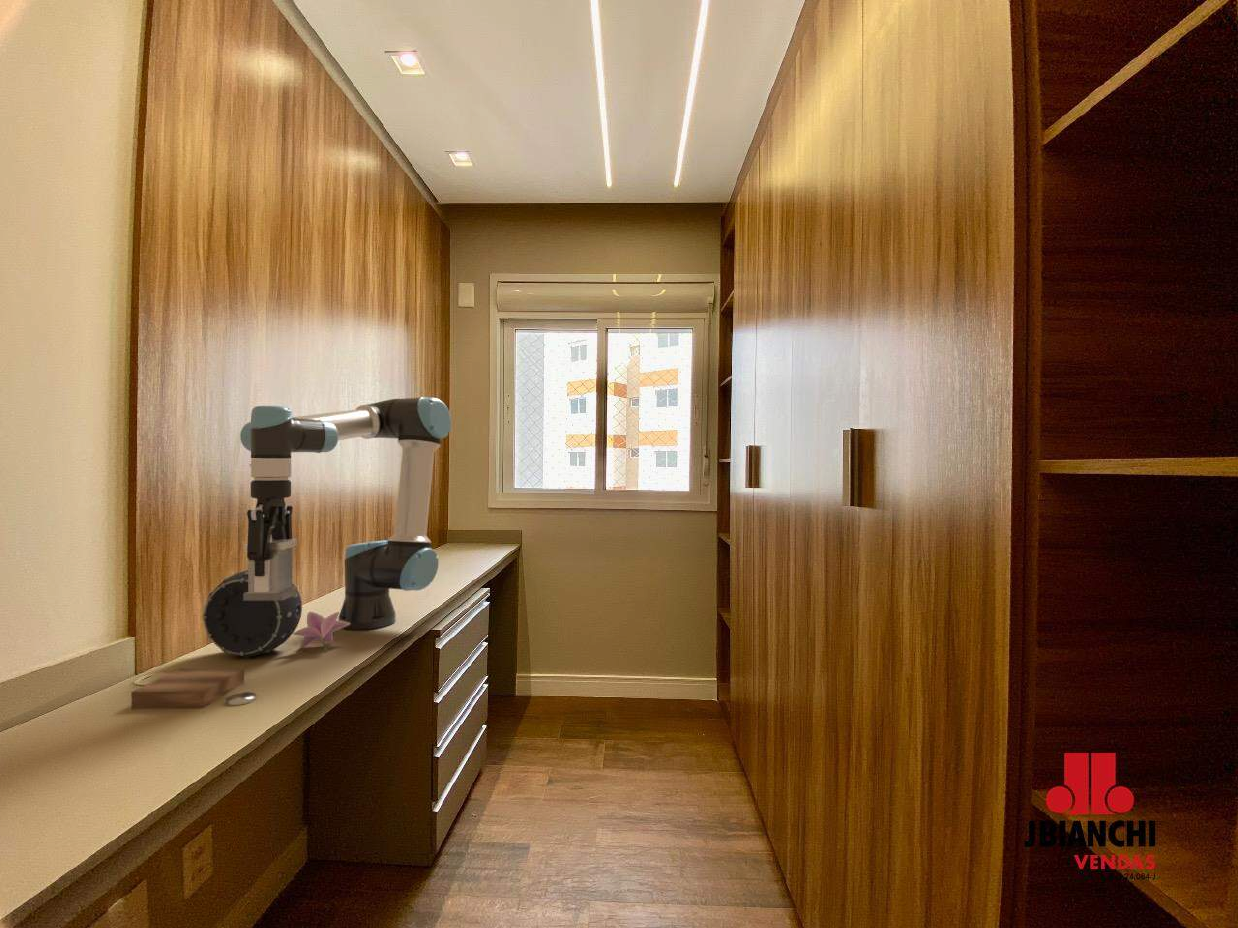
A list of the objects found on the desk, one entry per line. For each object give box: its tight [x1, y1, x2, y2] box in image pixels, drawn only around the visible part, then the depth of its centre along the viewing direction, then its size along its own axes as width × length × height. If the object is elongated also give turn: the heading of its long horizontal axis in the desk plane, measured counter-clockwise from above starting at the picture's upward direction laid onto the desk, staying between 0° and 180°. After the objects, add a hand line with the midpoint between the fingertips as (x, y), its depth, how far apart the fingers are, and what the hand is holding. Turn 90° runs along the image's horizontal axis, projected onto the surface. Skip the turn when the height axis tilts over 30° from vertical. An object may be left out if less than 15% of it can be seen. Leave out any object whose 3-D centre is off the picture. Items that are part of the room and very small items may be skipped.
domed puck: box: [225, 691, 258, 707], centre depth 117 cm, size 5×5×1 cm
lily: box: [292, 611, 351, 653], centre depth 150 cm, size 12×12×10 cm
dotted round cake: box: [201, 569, 303, 659], centre depth 146 cm, size 11×20×20 cm, turn 92°
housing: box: [243, 538, 298, 601], centre depth 130 cm, size 6×8×12 cm
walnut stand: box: [130, 667, 245, 709], centre depth 120 cm, size 13×13×3 cm
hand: (270, 588), depth 130 cm, fingers closed on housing, 6 cm apart
